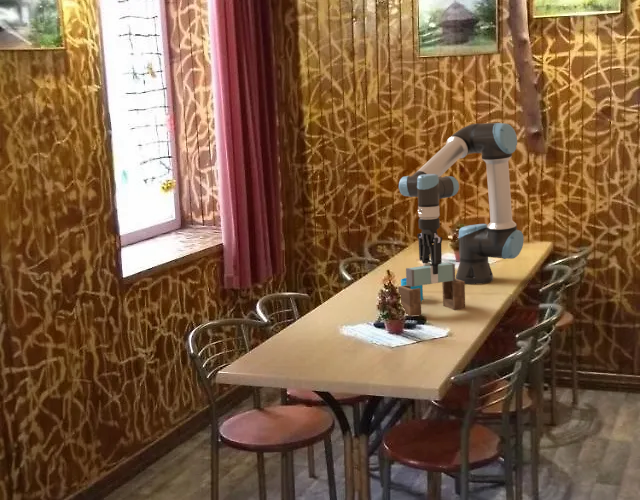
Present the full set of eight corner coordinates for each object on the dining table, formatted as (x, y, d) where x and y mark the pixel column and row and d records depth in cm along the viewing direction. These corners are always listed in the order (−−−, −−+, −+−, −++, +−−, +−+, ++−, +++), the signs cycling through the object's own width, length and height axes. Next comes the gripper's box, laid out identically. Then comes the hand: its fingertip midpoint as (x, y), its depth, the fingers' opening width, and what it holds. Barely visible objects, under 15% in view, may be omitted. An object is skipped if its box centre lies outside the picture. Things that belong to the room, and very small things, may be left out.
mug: (417, 303, 353) (417, 282, 352) (398, 302, 357) (397, 281, 356) (430, 296, 363) (429, 275, 362) (411, 295, 367) (410, 274, 366)
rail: (449, 278, 344) (448, 262, 343) (455, 280, 340) (454, 264, 339) (406, 284, 337) (405, 268, 336) (412, 286, 333) (411, 270, 332)
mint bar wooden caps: (453, 304, 349) (452, 277, 347) (465, 308, 342) (464, 281, 340) (399, 313, 340) (398, 286, 338) (410, 317, 332) (409, 290, 331)
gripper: (407, 216, 341) (410, 279, 345) (432, 221, 325) (434, 287, 329) (425, 214, 344) (427, 276, 348) (450, 219, 328) (452, 284, 332)
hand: (431, 281), depth 339 cm, fingers closed on rail, 4 cm apart
